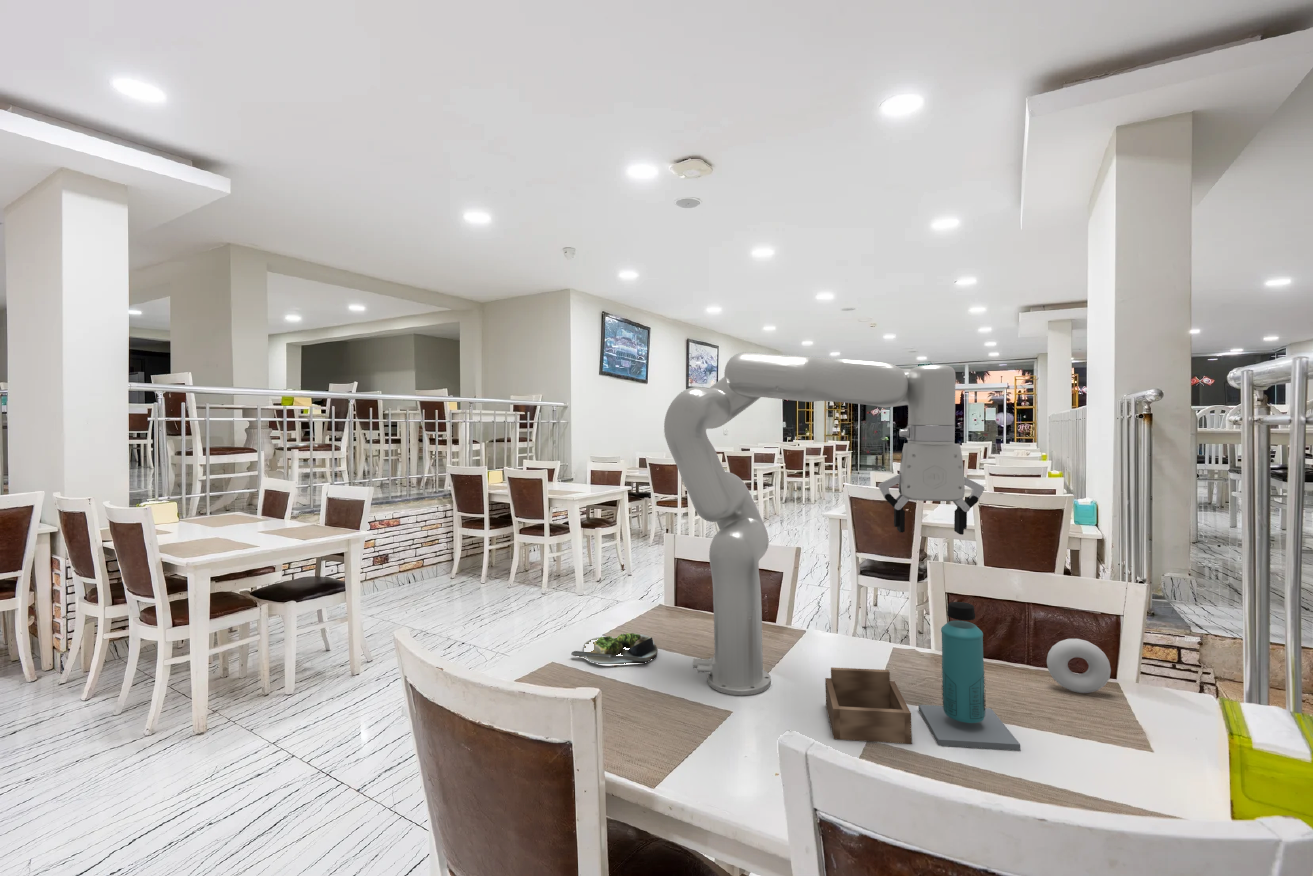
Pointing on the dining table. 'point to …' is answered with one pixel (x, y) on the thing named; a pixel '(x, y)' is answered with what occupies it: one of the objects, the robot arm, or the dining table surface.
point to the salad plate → (620, 649)
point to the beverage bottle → (963, 666)
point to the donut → (1072, 681)
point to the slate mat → (968, 730)
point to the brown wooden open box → (866, 706)
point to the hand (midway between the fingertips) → (929, 532)
